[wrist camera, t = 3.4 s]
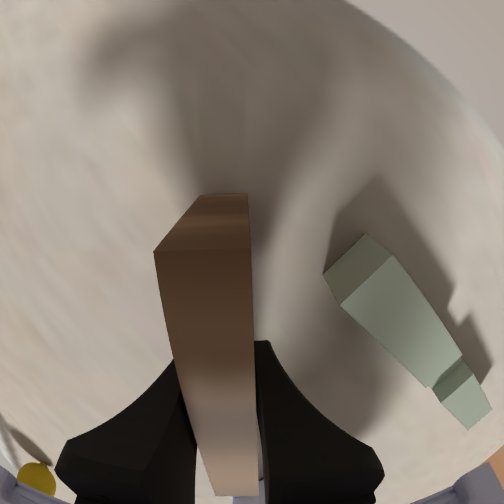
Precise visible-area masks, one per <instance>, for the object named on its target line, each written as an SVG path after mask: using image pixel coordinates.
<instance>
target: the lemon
mask: <svg viewBox="0 0 504 504" xmlns="http://www.w3.org/2000/svg"><path fill="white" fill-rule="evenodd" d="M17 480H18V481H20V482H22V483H24V484H26V485H28V486H30V487H32V488H34V489H36V490H39V491H41V492H43V493H45V494H48V495H50V496H52V497H54V495H55V491H56V482H55V479H54V476H53V475H52V473H51V472H50V471H49V470H48V467H47V465H46V464H45V463H33V462H32V463H27V464H25V465H24V466H23V467H22V468H21V469H20V470H19V472H18V475H17Z"/></svg>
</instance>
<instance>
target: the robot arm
mask: <svg viewBox="0 0 504 504" xmlns="http://www.w3.org/2000/svg"><path fill="white" fill-rule="evenodd" d="M254 361H255V391H256V413H257V419H258V425H259V432H260V438H261V444H262V454H263V472H264V479H263V480H261V481H259V496H227V497H229V498H232V499H233V504H374V503H375V502H376V498H375V495H374V491H375V489H376V488H377V487H378V486H379V484H380V483H381V482H382V480H383V478H384V476H385V474H384V470H383V467H382V464H381V462H380V460H379V459H378V457H377V455H376V453H375V452H374V450H373V448H372V447H370V446H368V445H366V444H364V443H362V442H361V441H359V440H357V439H355V438H354V437H352V436H350V435H349V434H347V433H346V432H345V431H343V430H342V429H340V428H339V427H337V426H336V425H335V424H334V423H332V422H331V421H330V420H329V419H327V418H326V417H325V416H324V415H323V414H321V413H320V412H319V411H318V410H317V409H316V408H315V407H314V406H313V405H312V404H311V403H310V402H309V401H308V400H307V399H306V398H305V397H304V395H303V394H302V393H301V392H300V391H299V390H298V388H297V387H296V386H295V384H294V383H293V382H292V380H291V379H290V378H289V376H288V375H287V373H286V372H285V370H284V369H283V367H282V366H281V364H280V362H279V360H278V359H277V357H276V355H275V353H274V351H273V349H272V346H271V343H270V342H269V341H268V340H263V341H254ZM196 454H197V442H196V439H195V435H194V432H193V429H192V426H191V422H190V419H189V416H188V412H187V409H186V405H185V401H184V398H183V394H182V390H181V387H180V383H179V379H178V375H177V371H176V367H175V363H174V359H173V360H172V361H171V363H170V364H169V365H168V367H167V368H166V369H165V370H164V371H163V373H162V374H161V375H160V376H159V377H158V378H157V379H156V381H155V382H154V383H153V384H152V385H151V386H150V387H149V388H148V389H147V390H146V391H145V392H144V393H143V394H142V395H141V396H140V397H139V398H138V399H136V400H135V401H134V402H133V403H132V404H131V405H129V406H128V407H127V408H125V409H124V410H123V411H121V412H120V413H119V414H117V415H116V416H114V417H113V418H111V419H110V420H108V421H107V422H105V423H103V424H101V425H100V426H98V427H96V428H94V429H92V430H90V431H88V432H86V433H84V434H81V435H79V436H77V437H75V438H72V439H70V440H67V442H66V444H65V446H64V448H63V450H62V452H61V454H60V457H59V459H58V462H57V464H56V467H55V469H54V470H55V472H56V474H57V476H58V477H59V478H60V480H61V481H62V482H63V483H64V484H66V485H67V486H68V487H69V488H70V489H71V490H72V491H73V492H74V493H75V494H76V495H77V497H76V500H75V503H74V504H195V471H196ZM0 504H70V503H67V502H65V501H62V500H60V499H57V498H55V497H52V496H50V495H48V494H45V493H43V492H41V491H39V490H36V489H34V488H32V487H30V486H28V485H26V484H24V483H22V482H20V481H18V480H17V479H16V478H15V477H14V476H13V475H12V474H11V473H10V472H9V471H8V470H6V469H5V468H3V467H2V466H0ZM410 504H504V489H503V487H502V485H501V483H500V482H499V480H498V478H497V476H496V474H495V472H494V470H493V468H492V467H491V465H490V463H489V462H486V463H484V464H482V465H480V466H479V467H477V468H475V469H473V470H471V471H469V472H468V473H466V474H464V475H463V476H462V477H460V478H459V479H458V480H457V481H456V482H455V483H454V485H453V486H451V487H448V488H446V489H444V490H442V491H440V492H438V493H435V494H433V495H431V496H428V497H426V498H423V499H421V500H418V501H416V502H413V503H410Z"/></svg>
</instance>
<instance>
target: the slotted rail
mask: <svg viewBox="0 0 504 504" xmlns="http://www.w3.org/2000/svg"><path fill="white" fill-rule="evenodd" d="M323 276H324V278H325V280H326V282H327V283H328V285H329V287H330V289H331V291H332V292H333V294H334V296H335V298H336V299H337V301H338V303H339V305H340V306H341V307H342V308H343V309H344V310H345V311H346V312H348V313H349V314H350V315H351V316H352V317H353V318H354V319H355V320H356V321H357V322H358V323H359V324H360V325H361V326H362V327H363V328H364V329H365V330H366V331H368V332H369V333H370V334H371V335H372V336H373V337H374V338H375V339H376V340H377V341H378V342H379V343H380V344H381V345H382V346H383V347H384V348H385V349H386V350H387V351H388V352H389V353H390V354H391V355H392V356H393V357H395V358H396V359H397V360H398V361H399V362H400V363H401V364H402V365H403V366H404V367H405V368H406V369H407V370H408V371H409V372H410V373H411V374H412V375H413V376H414V377H415V378H416V379H417V380H418V381H419V382H420V383H421V384H422V385H423V386H424V387H425V388H426V387H427V386H429V387H430V388H431V389H432V390H433V392H434V393H435V395H436V396H437V398H438V399H439V401H440V403H441V404H442V405H443V406H444V407H445V408H446V409H447V410H448V411H449V412H450V413H451V414H452V415H453V416H454V417H455V418H456V419H457V420H458V421H459V422H460V423H461V424H462V425H463V426H464V427H465V428H466V429H467V430H469V429H470V428H471V427H473V426H474V425H475V424H476V423H477V422H478V421H480V420H481V419H482V418H483V417H484V416H485V415H486V414H487V413H489V412H490V411H491V410H492V407H491V405H490V403H489V401H488V399H487V397H486V395H485V394H484V392H483V390H482V388H481V386H480V384H479V382H478V381H477V379H476V377H475V375H474V374H473V372H472V371H471V370H470V369H469V367H468V366H467V365H466V364H465V362H464V361H463V360H462V358H461V356H462V353H461V351H460V350H459V348H458V347H457V345H456V343H455V342H454V340H453V339H452V337H451V335H450V334H449V332H448V331H447V329H446V328H445V326H444V325H443V323H442V322H441V320H440V319H439V317H438V316H437V314H436V313H435V311H434V310H433V308H432V307H431V305H430V304H429V303H428V301H427V300H426V298H425V297H424V296H423V294H422V293H421V291H420V290H419V289H418V287H417V286H416V284H415V283H414V282H413V280H412V279H411V278H410V276H409V275H408V274H407V272H406V271H405V270H404V268H403V267H402V266H401V264H400V263H399V262H398V261H397V259H396V258H395V257H394V255H393V254H392V253H390V252H389V251H388V250H387V249H386V248H384V247H383V246H382V245H381V244H379V243H378V242H377V241H376V240H374V239H373V238H372V237H371V236H369V235H368V234H367V233H365V234H364V235H363V236H362V237H361V238H360V239H359V240H358V241H357V242H356V243H355V244H354V245H353V246H352V247H351V248H350V249H349V250H348V251H347V252H346V253H345V254H344V255H343V256H342V257H341V258H339V259H338V260H337V261H336V262H335V263H334V264H333V265H332V266H331V267H330V268H329V269H328V270H327V271H326V272H325V273H324V274H323Z"/></svg>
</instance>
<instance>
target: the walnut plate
mask: <svg viewBox="0 0 504 504" xmlns="http://www.w3.org/2000/svg"><path fill="white" fill-rule="evenodd" d="M153 253H154V259H155V266H156V272H157V278H158V284H159V290H160V296H161V301H162V307H163V312H164V317H165V322H166V327H167V332H168V336H169V341H170V345H171V350H172V354H173V358H174V363H175V367H176V371H177V375H178V379H179V383H180V387H181V390H182V394H183V398H184V401H185V405H186V409H187V412H188V416H189V419H190V422H191V426H192V429H193V432H194V435H195V439H196V442H197V445H198V448H199V451H200V454H201V457H202V460H203V463H204V466H205V469H206V471H207V474H208V477H209V480H210V482H211V485H212V488H213V490H214V493H215V496H259V481H258V451H257V421H256V391H255V361H254V330H253V300H252V269H251V243H250V228H249V213H248V198H247V193H236V194H214V195H200V196H199V197H198V198H197V200H196V201H195V202H194V203H193V204H192V205H191V207H190V208H189V209H188V210H187V211H186V212H185V214H184V215H183V216H182V217H181V218H180V219H179V221H178V222H177V223H176V224H175V225H174V227H173V228H172V229H171V230H170V231H169V233H168V234H167V235H166V236H165V237H164V239H163V240H162V241H161V242H160V244H159V245H158V246H157V247H156V249H155V250H154V251H153Z"/></svg>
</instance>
